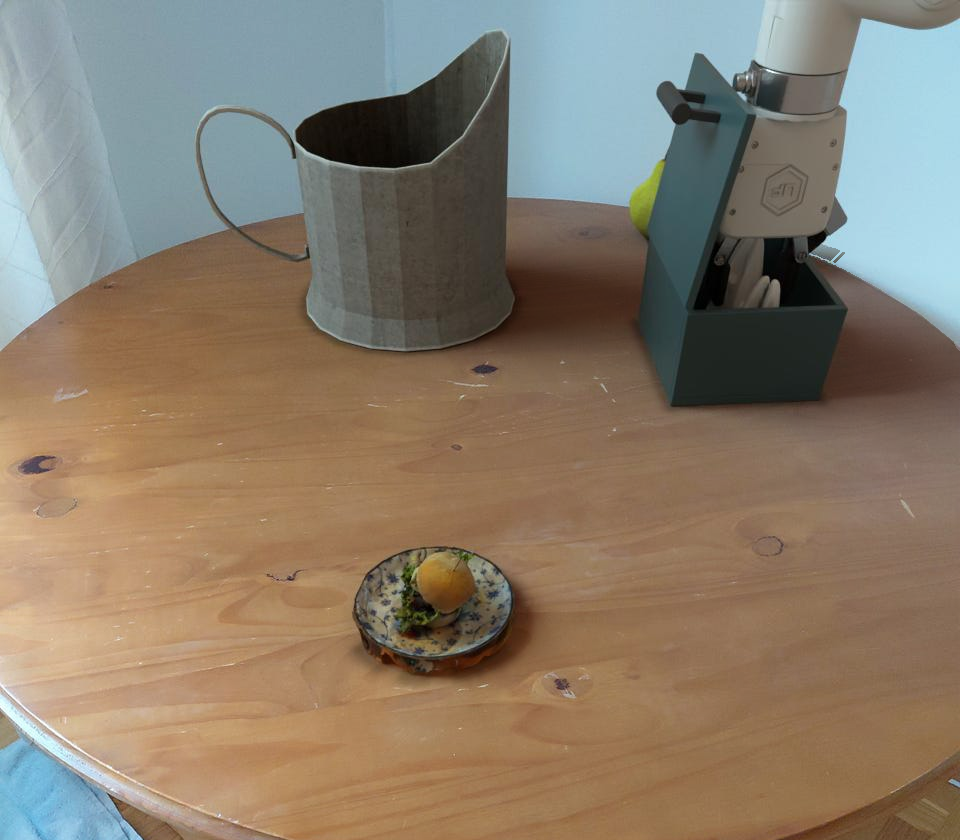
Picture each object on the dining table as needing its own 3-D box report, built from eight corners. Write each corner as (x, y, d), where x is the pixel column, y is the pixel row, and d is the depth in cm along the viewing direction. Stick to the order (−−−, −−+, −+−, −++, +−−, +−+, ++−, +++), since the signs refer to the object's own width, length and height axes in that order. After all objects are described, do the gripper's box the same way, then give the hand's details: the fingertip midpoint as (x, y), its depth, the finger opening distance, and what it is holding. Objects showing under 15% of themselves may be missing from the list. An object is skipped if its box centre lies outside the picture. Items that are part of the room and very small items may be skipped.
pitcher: (532, 341, 94) (545, 68, 75) (226, 366, 90) (162, 86, 72) (494, 248, 109) (497, 3, 91) (232, 266, 106) (180, 15, 87)
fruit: (640, 252, 109) (654, 145, 100) (616, 230, 113) (628, 125, 104) (690, 244, 110) (709, 138, 101) (665, 222, 115) (680, 119, 106)
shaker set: (701, 323, 95) (722, 216, 87) (740, 322, 95) (764, 215, 87) (728, 383, 87) (754, 271, 78) (771, 382, 87) (801, 270, 79)
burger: (467, 544, 71) (466, 467, 66) (545, 638, 64) (552, 560, 59) (329, 595, 67) (315, 517, 62) (396, 700, 60) (388, 623, 55)
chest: (768, 318, 97) (790, 231, 90) (819, 400, 86) (848, 308, 79) (637, 322, 96) (649, 235, 90) (670, 406, 85) (687, 314, 78)
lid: (703, 53, 78) (650, 45, 78) (757, 115, 67) (695, 106, 66) (653, 231, 89) (606, 225, 89) (692, 309, 78) (639, 304, 77)
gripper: (703, 104, 70) (667, 320, 84) (914, 100, 71) (845, 314, 85) (682, 76, 75) (651, 284, 89) (878, 73, 76) (819, 279, 90)
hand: (746, 297), depth 86 cm, fingers open, 5 cm apart
